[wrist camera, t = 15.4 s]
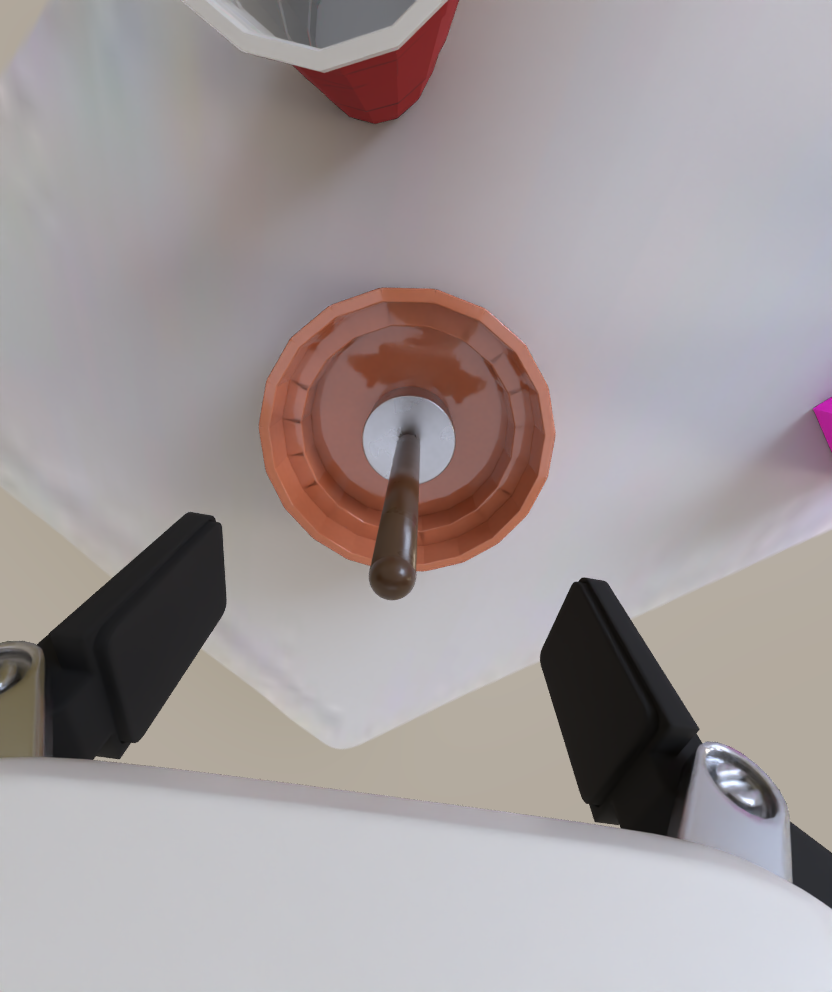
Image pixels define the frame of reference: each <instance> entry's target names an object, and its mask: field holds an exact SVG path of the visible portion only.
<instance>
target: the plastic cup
mask: <svg viewBox="0 0 832 992" xmlns="http://www.w3.org/2000/svg"><path fill="white" fill-rule="evenodd" d="M181 1H182V2H183V3H184V4H185V5H187V6H188V7H189V8H190V9H191V10H193V11H194V12H195V13H196V14H197V15H199V16H200V17H201V18H202V19H203V20H205V21H206V22H207V23H208V24H209V25H210V26H212V27H213V28H214V29H215V30H216V31H218V32H219V33H220V34H221V35H222V36H224V37H225V38H226V39H227V40H228V41H229V42H231V43H232V44H233V45H234V46H235V47H237V48H238V49H239V50H240V51H242V52H245V53H248V54H252V55H256V56H259V57H263V58H267V59H271V60H275V61H279V62H283V63H287V64H291V65H293V66H294V67H295V68H296V69H297V70H298V71H299V72H300V73H301V74H302V75H303V76H304V77H305V78H306V79H308V80H309V81H310V82H311V83H312V84H313V85H315V86H316V87H317V88H318V89H319V90H320V91H321V92H323V93H324V94H325V95H326V96H327V97H328V98H329V99H330V100H331V101H332V102H333V103H334V104H335V105H337V106H338V107H339V108H340V109H341V110H342V111H344V112H345V113H346V114H347V115H348V116H349V117H352V118H356V119H359V120H363V121H367V122H370V123H374V124H376V123H380V122H384V121H388V120H392V119H396V118H398V117H399V116H400V115H401V114H403V113H404V112H405V111H406V110H407V109H408V108H409V107H410V106H412V105H413V104H414V103H415V102H416V101H417V100H418V99H419V97H420V95H421V93H422V91H423V90H424V88H425V86H426V84H427V82H428V80H429V78H430V76H431V74H432V72H433V70H434V67H435V63H436V60H437V57H438V54H439V52H440V51H441V49H442V47H443V45H444V43H445V41H446V38H447V35H448V32H449V29H450V26H451V23H452V20H453V17H454V14H455V11H456V8H457V5H458V2H459V0H181Z"/></svg>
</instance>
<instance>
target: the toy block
mask: <svg viewBox="0 0 832 992" xmlns="http://www.w3.org/2000/svg"><path fill="white" fill-rule="evenodd" d="M813 410H814V412H815V415H816V417H817V419H818V422H819V424H820V426H821V428H822V431H823V433H824V435H825V438H826V440H827V442H828V445H829V447H830V449H831V452H832V397H831V398H829V399H828V400H826V401H824V402H823V403H821V404H820V405H818V406H816V407H815V408H813Z"/></svg>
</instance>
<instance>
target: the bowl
mask: <svg viewBox="0 0 832 992" xmlns="http://www.w3.org/2000/svg"><path fill="white" fill-rule="evenodd" d="M400 387H419V388H423V389H426V390H428V391H430V392H432V393H434V394H435V395H436V396H438V397H439V398H440V399H441V400H442V401H443V402H444V404H445V405H446V406H447V408H448V410H449V412H450V415H451V418H452V422H453V426H454V430H455V436H456V446H455V451H454V455H453V457H452V459H451V462H450V463H449V465H448V466H447V468H446V469H445V470H444V471H443V472H442V473H441V474H440V475H438V476H437V477H436V478H434V479H432V480H430V481H428V482H425V483H422V484H419V504H418V534H417V564H416V571H429V570H433V569H437V568H442V567H446V566H450V565H454V564H459V563H462V562H465V561H467V560H469V559H470V558H472V557H474V556H476V555H478V554H480V553H482V552H483V551H485V550H487V549H489V548H491V547H493V546H495V545H496V544H498V543H499V542H500V541H501V540H502V539H503V538H504V537H505V536H506V535H507V534H508V533H509V532H510V531H512V530H513V529H514V528H515V527H516V526H517V525H518V524H519V523H520V522H521V521H522V520H523V519H524V518H525V517H526V516H527V514H528V513H529V511H530V509H531V507H532V505H533V504H534V502H535V500H536V498H537V496H538V494H539V493H540V491H541V489H542V487H543V485H544V483H545V482H546V480H547V477H548V473H549V468H550V462H551V457H552V451H553V446H554V441H555V427H554V420H553V413H552V407H551V400H550V393H549V389H548V385H547V384H546V382H545V380H544V378H543V376H542V374H541V372H540V371H539V369H538V367H537V365H536V363H535V361H534V359H533V357H532V356H531V354H530V352H529V350H528V348H527V346H526V345H525V343H524V342H523V341H521V340H520V339H519V338H518V337H517V336H516V335H515V334H514V333H512V332H511V331H510V330H509V329H508V328H507V327H506V326H505V325H504V324H502V323H501V322H500V321H499V320H498V319H497V318H496V317H495V316H493V315H492V314H491V313H490V312H489V311H488V310H487V309H485V308H483V307H480V306H478V305H475V304H473V303H470V302H468V301H465V300H462V299H460V298H457V297H455V296H452V295H450V294H447V293H445V292H442V291H440V290H437V289H436V290H435V289H425V288H378V289H375V290H372V291H369V292H366V293H363V294H361V295H358V296H355V297H352V298H349V299H346V300H343V301H341V302H338V303H335V304H332V305H330V306H328V307H327V308H326V309H325V310H323V311H322V312H321V313H320V314H319V315H317V316H316V317H315V318H314V319H313V320H311V321H310V322H309V323H308V324H307V325H306V326H304V327H303V328H302V329H301V330H300V331H298V332H297V333H296V334H295V335H294V336H292V337H291V339H290V340H289V341H288V343H287V345H286V347H285V348H284V350H283V352H282V354H281V356H280V357H279V359H278V361H277V363H276V364H275V366H274V368H273V370H272V371H271V373H270V375H269V377H268V378H267V381H266V385H265V391H264V397H263V403H262V408H261V414H260V420H259V433H260V439H261V445H262V452H263V458H264V464H265V469H266V472H267V474H268V476H269V478H270V480H271V482H272V484H273V486H274V488H275V490H276V492H277V494H278V496H279V498H280V500H281V502H282V504H283V506H284V508H285V509H286V510H287V511H288V512H289V513H290V514H291V515H292V517H293V518H294V519H295V520H296V521H297V522H298V523H299V524H300V525H301V526H302V527H303V528H304V529H305V530H306V531H307V532H308V534H309V535H310V536H311V537H312V538H313V539H315V540H316V541H318V542H320V543H321V544H323V545H325V546H326V547H328V548H330V549H331V550H333V551H335V552H336V553H338V554H340V555H341V556H343V557H344V558H346V559H348V560H352V561H355V562H359V563H362V564H365V565H369V566H371V561H372V557H373V552H374V547H375V543H376V538H377V533H378V528H379V524H380V519H381V514H382V510H383V505H384V500H385V496H386V491H387V486H388V481H389V480H387V479H385V478H383V477H382V476H380V475H379V474H378V473H377V472H376V471H375V470H374V469H373V468H372V467H371V465H370V464H369V462H368V461H367V459H366V457H365V454H364V451H363V446H362V433H363V428H364V425H365V422H366V420H367V418H368V416H369V414H370V412H371V411H372V409H373V407H374V405H375V404H376V402H377V401H378V400H379V399H380V398H381V397H382V396H384V395H385V394H386V393H388V392H390V391H392V390H394V389H397V388H400Z"/></svg>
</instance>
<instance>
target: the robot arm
mask: <svg viewBox="0 0 832 992" xmlns="http://www.w3.org/2000/svg"><path fill="white" fill-rule="evenodd" d="M225 608H226V584H225V568H224V551H223V535H222V525H221V523H219V522H216V519H215V518H214V516H211V515H205V514H199V513H193V512H188V513H186V514H185V515H184V516H183V517H181V518H180V519H179V520H178V521H177V522H176V523H175V524H173V525H172V526H171V527H170V528H169V529H168V530H167V531H165V532H164V533H163V534H162V535H161V536H160V537H159V538H157V539H156V540H155V541H154V542H153V543H152V544H151V545H149V546H148V547H147V548H146V549H145V550H144V551H143V552H141V553H140V554H139V555H138V556H137V557H136V558H135V559H133V560H132V561H131V562H130V563H129V564H128V565H127V566H125V567H124V568H123V569H122V570H121V571H120V572H119V573H117V574H116V575H115V576H114V577H113V578H112V579H111V580H109V581H108V582H107V583H106V584H105V585H104V586H103V587H101V588H100V589H99V590H98V591H97V592H96V593H95V594H93V595H92V596H91V597H90V598H89V599H88V600H87V601H86V602H84V603H83V604H82V605H81V606H80V607H79V608H77V609H76V610H75V611H74V612H73V613H72V614H71V615H69V616H68V617H67V618H66V619H65V620H64V621H63V622H62V623H60V624H59V625H58V626H57V627H56V628H55V629H53V630H52V631H51V632H50V633H49V635H47V636H46V637H45V638H44V639H43V640H42V641H40V642H39V643H38V644H37V645H36V644H34V643H30V642H25V641H7V642H2V643H0V992H832V853H831V852H830V851H829V850H827V849H826V848H824V847H823V846H822V845H821V844H819V843H818V842H817V841H815V840H814V839H813V838H811V837H810V836H808V835H807V834H806V833H805V832H803V831H802V830H801V829H799V828H798V827H797V826H795V825H794V824H792V823H791V822H790V816H789V811H788V807H787V803H786V801H785V800H784V798H783V796H782V794H781V792H780V790H779V789H778V788H777V786H776V785H775V784H774V782H772V780H771V779H770V777H768V775H767V774H766V773H765V772H764V771H763V770H762V769H761V768H760V767H759V766H758V765H757V764H755V763H754V762H753V761H751V760H750V759H749V758H747V757H746V756H745V755H744V754H742V753H740V752H739V751H737V750H735V749H733V748H731V747H730V746H727V745H724V744H721V743H718V742H705V743H702V742H701V740H700V739H699V737H698V735H697V734H696V733H697V732H698V731H699V728H698V726H697V724H696V723H695V721H694V720H693V718H692V717H691V715H690V713H689V712H688V710H687V709H686V707H685V705H684V704H683V702H682V701H681V699H680V697H679V696H678V694H677V693H676V691H675V689H674V688H673V686H672V685H671V683H670V681H669V680H668V678H667V677H666V675H665V674H664V672H663V670H662V669H661V667H660V666H659V664H658V662H657V661H656V659H655V658H654V656H653V654H652V653H651V651H650V650H649V648H648V647H647V645H646V644H645V642H644V640H643V639H642V637H641V635H640V634H639V633H638V631H637V629H636V627H635V626H634V624H633V623H632V621H631V620H630V618H629V616H628V615H627V613H626V612H625V610H624V608H623V607H622V605H621V604H620V602H619V600H618V599H617V597H616V596H615V594H614V593H613V591H612V589H611V588H610V586H609V585H608V583H607V582H605V581H602V580H596V579H590V578H581V579H580V580H579V582H574V583H573V584H572V586H571V588H570V590H569V592H568V594H567V596H566V598H565V601H564V603H563V605H562V607H561V609H560V611H559V613H558V616H557V618H556V620H555V622H554V624H553V626H552V628H551V631H550V633H549V635H548V637H547V639H546V641H545V644H544V646H543V648H542V650H541V654H540V663H541V667H542V670H543V673H544V676H545V680H546V683H547V686H548V690H549V693H550V696H551V699H552V703H553V706H554V709H555V712H556V716H557V719H558V722H559V726H560V729H561V732H562V735H563V739H564V742H565V745H566V748H567V752H568V755H569V758H570V762H571V765H572V768H573V771H574V775H575V778H576V781H577V785H578V788H579V791H580V794H581V797H582V799H583V800H584V802H585V803H586V804H589V805H590V808H591V811H592V814H593V818H594V821H595V822H599V823H607V824H614V825H620V827H621V828H614V827H608V826H602V825H596V824H589V823H583V822H576V821H569V820H562V819H554V818H547V817H540V816H532V815H525V814H518V813H511V812H503V811H496V810H489V809H481V808H474V807H467V806H459V805H452V804H445V803H437V802H430V801H422V800H415V799H407V798H399V797H392V796H384V795H377V794H369V793H362V792H354V791H346V790H338V789H331V788H323V787H316V786H308V785H300V784H292V783H284V782H276V781H269V780H261V779H253V778H244V777H237V776H229V775H221V774H213V773H205V772H197V771H189V770H181V769H173V768H163V767H154V766H145V765H135V764H126V763H117V762H107V761H98V760H93V759H94V758H95V757H96V756H99V757H106V758H114V759H120V758H121V756H122V755H123V754H124V752H125V751H126V749H127V748H128V746H129V745H130V743H136V742H138V741H139V740H140V739H141V738H142V737H143V736H144V734H145V733H146V731H147V729H148V728H149V726H150V725H151V723H152V722H153V720H154V719H155V717H156V716H157V714H158V713H159V711H160V710H161V708H162V706H163V705H164V704H165V702H166V701H167V699H168V698H169V696H170V695H171V693H172V692H173V690H174V688H175V687H176V686H177V684H178V682H179V681H180V679H181V678H182V676H183V675H184V673H185V672H186V670H187V669H188V667H189V666H190V664H191V663H192V661H193V659H194V658H195V657H196V655H197V653H198V652H199V650H200V649H201V647H202V646H203V644H204V643H205V641H206V640H207V638H208V637H209V635H210V634H211V632H212V631H213V629H214V628H215V626H216V625H217V623H218V622H219V620H220V619H221V617H222V615H223V613H224V611H225Z"/></svg>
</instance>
